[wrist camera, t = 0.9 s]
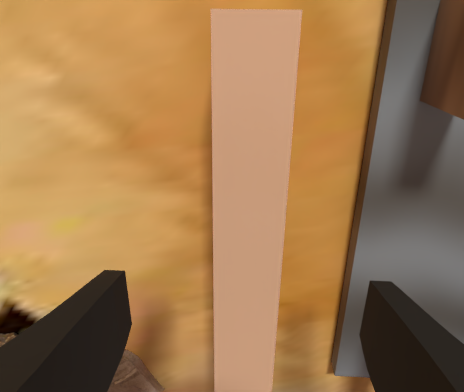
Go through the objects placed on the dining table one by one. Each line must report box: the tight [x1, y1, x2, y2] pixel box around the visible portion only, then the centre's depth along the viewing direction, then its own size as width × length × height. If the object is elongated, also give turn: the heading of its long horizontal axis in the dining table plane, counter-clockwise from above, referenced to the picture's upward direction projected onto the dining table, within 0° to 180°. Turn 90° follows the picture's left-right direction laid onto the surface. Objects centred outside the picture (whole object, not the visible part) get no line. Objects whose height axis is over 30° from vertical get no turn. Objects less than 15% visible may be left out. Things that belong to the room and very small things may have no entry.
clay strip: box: [211, 9, 302, 392], centre depth 16 cm, size 16×2×5 cm, turn 179°
